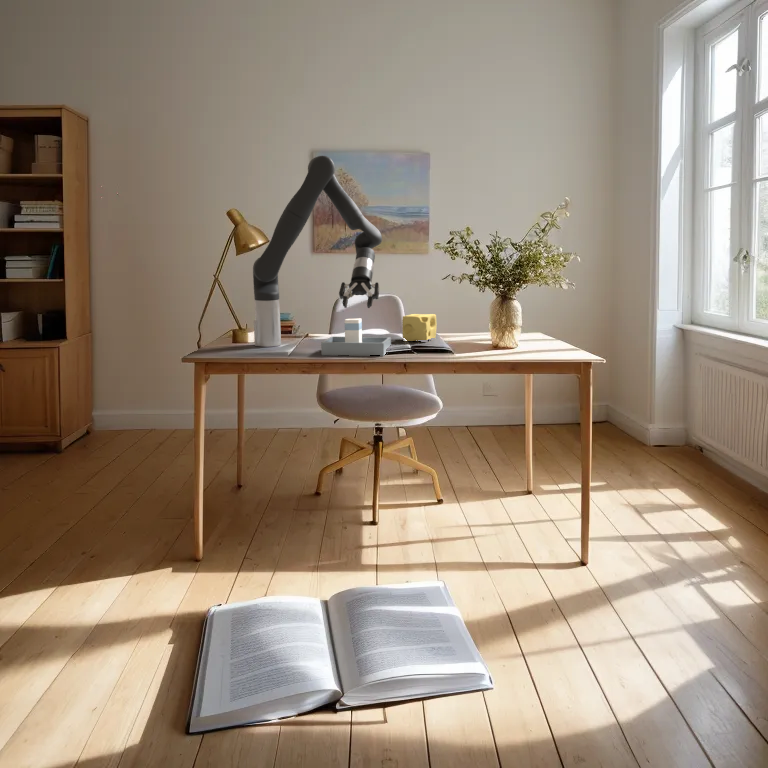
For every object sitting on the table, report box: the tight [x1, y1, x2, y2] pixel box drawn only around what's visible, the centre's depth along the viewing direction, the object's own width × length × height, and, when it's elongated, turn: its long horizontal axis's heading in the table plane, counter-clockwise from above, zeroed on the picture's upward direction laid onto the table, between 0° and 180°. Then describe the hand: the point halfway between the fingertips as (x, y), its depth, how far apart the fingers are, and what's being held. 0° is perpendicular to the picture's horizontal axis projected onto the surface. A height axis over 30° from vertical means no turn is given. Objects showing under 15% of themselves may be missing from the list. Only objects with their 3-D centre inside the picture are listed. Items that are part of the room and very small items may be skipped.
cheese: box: [401, 313, 438, 342], centre depth 317 cm, size 10×11×10 cm
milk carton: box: [344, 317, 363, 343], centre depth 290 cm, size 5×5×11 cm
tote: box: [320, 336, 392, 357], centre depth 290 cm, size 22×15×4 cm
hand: (356, 306), depth 294 cm, fingers open, 8 cm apart
